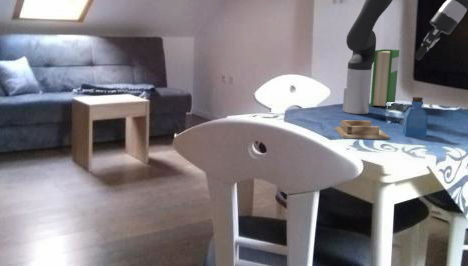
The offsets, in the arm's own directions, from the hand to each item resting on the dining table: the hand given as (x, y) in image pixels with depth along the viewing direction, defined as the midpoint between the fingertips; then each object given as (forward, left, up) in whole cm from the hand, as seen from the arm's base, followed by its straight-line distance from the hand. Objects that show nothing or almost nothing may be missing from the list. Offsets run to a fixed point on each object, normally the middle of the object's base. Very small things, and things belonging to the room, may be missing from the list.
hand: (416, 58), depth 167 cm
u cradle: (-5, -23, -23) cm, 33 cm away
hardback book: (-33, +41, -24) cm, 58 cm away
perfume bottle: (+7, -11, -24) cm, 27 cm away
